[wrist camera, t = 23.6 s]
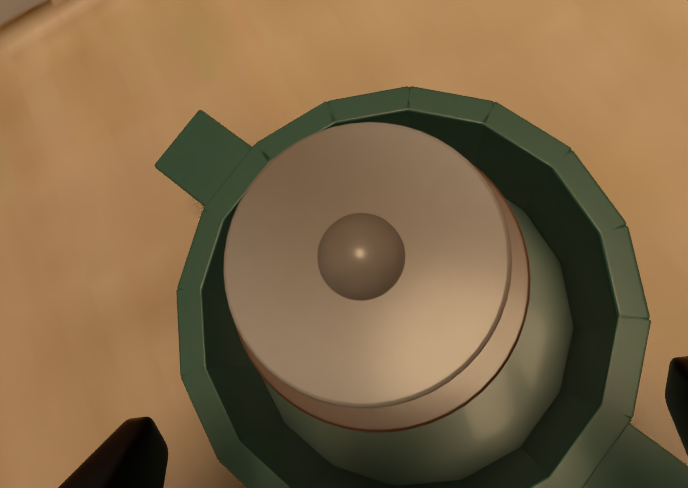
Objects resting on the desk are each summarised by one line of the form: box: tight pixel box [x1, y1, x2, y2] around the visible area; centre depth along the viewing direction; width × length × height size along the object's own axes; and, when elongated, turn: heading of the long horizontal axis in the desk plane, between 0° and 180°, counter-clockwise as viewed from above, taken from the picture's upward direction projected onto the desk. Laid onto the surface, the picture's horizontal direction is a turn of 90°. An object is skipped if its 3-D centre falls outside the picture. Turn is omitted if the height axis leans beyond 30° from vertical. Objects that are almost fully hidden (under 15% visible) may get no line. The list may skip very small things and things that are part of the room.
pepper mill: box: [224, 122, 531, 433], centre depth 13 cm, size 5×5×13 cm
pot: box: [155, 87, 688, 488], centre depth 17 cm, size 13×18×5 cm
